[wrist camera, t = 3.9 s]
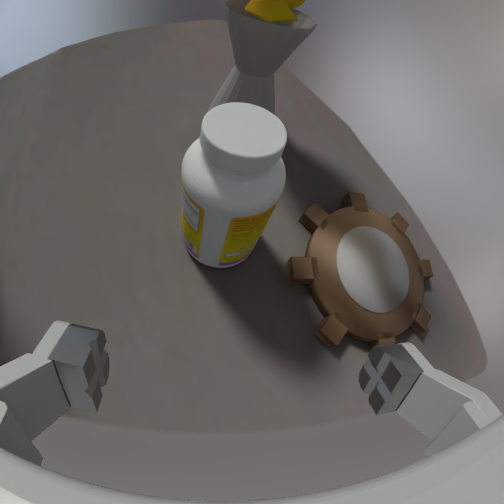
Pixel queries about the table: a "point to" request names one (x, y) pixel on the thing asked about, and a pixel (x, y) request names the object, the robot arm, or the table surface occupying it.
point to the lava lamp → (260, 48)
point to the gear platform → (361, 274)
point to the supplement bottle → (231, 182)
